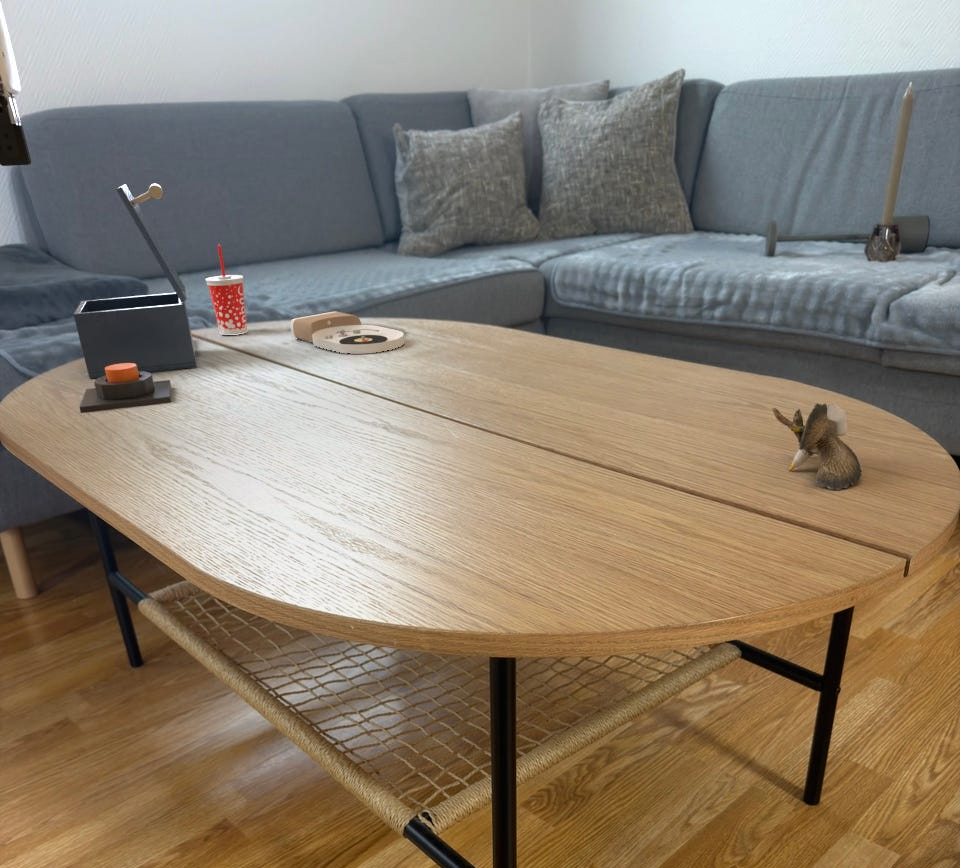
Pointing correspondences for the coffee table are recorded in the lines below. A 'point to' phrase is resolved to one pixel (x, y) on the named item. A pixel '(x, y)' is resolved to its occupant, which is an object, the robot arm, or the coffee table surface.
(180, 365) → the dark grey box
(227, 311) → the beverage cup
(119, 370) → the button
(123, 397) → the control block
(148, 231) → the lid
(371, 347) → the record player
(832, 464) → the eagle figurine
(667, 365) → the coffee table surface
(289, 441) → the coffee table surface
